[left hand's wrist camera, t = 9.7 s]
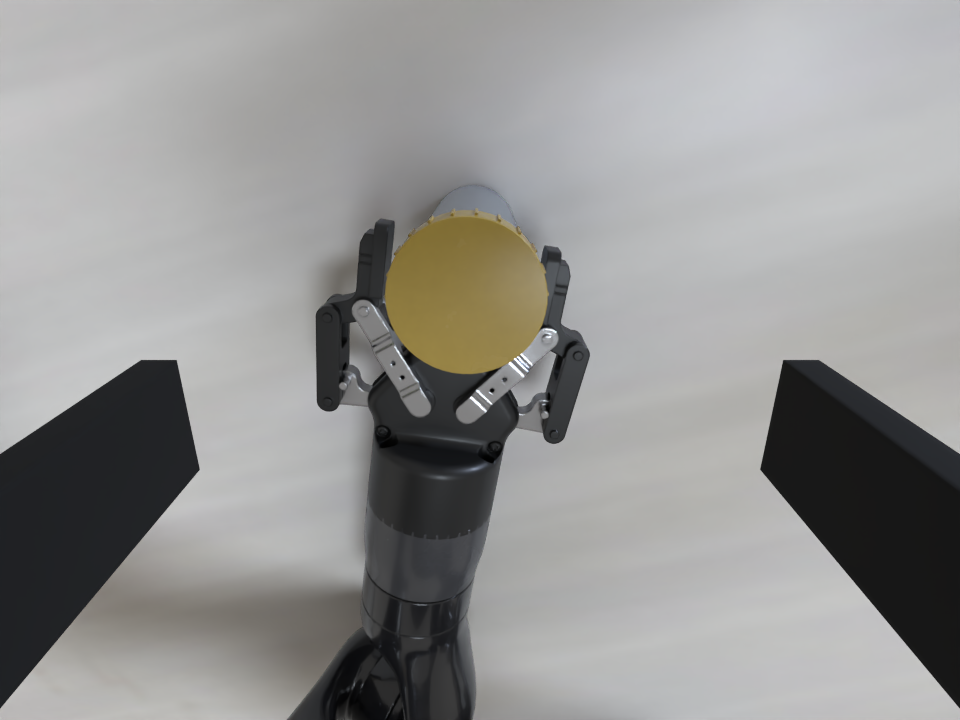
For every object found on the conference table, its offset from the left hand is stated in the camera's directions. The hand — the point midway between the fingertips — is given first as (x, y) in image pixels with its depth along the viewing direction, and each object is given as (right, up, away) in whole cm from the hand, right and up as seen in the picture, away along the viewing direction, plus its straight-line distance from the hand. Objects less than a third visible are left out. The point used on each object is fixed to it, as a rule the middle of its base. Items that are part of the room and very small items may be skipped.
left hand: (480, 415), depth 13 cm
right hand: (0, +7, +16) cm, 18 cm away
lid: (0, +3, +7) cm, 8 cm away
